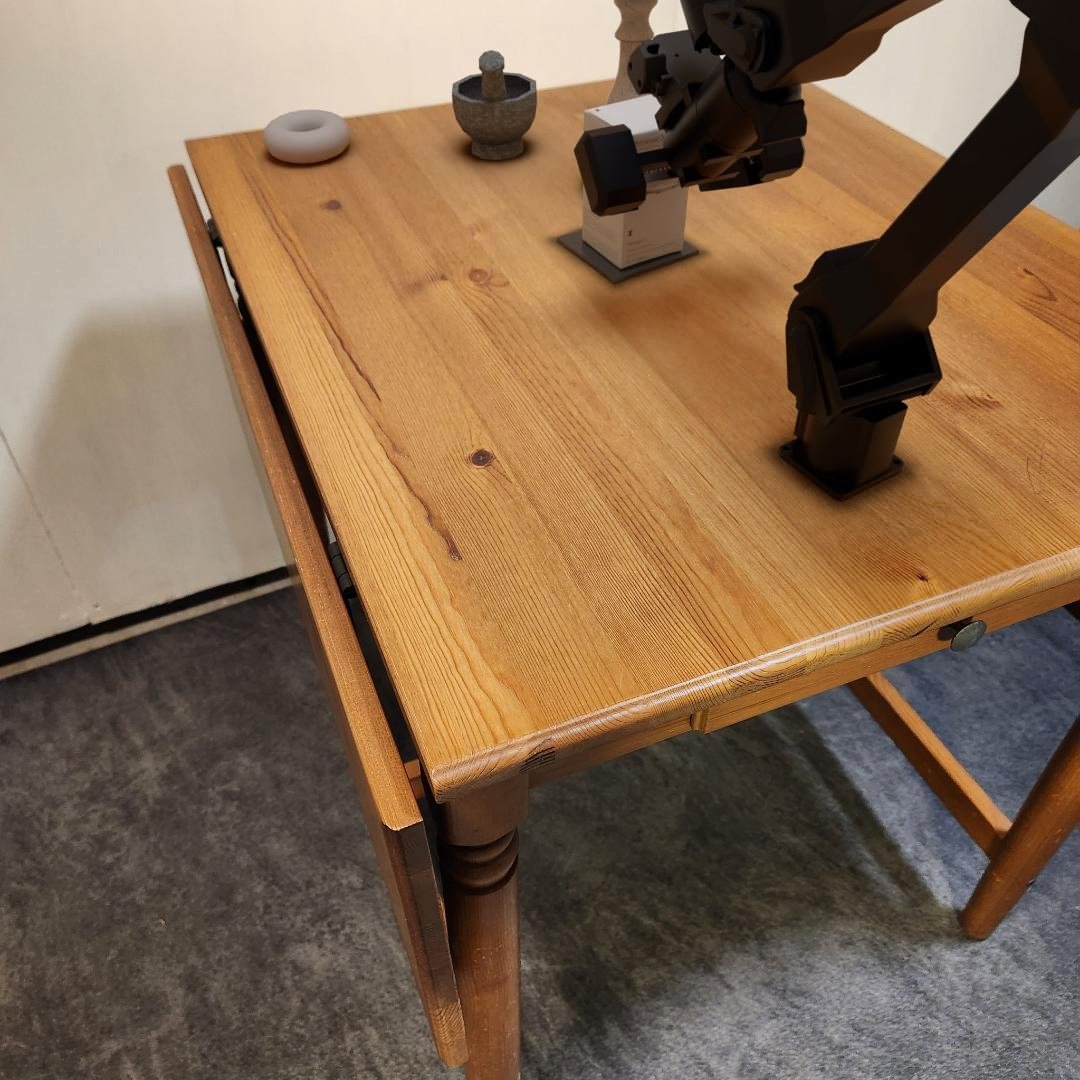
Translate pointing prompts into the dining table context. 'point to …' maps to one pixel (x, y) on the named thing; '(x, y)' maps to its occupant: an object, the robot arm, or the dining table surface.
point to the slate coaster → (613, 272)
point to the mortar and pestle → (495, 108)
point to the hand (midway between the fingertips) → (654, 195)
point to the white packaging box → (665, 203)
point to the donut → (306, 136)
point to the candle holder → (630, 43)
